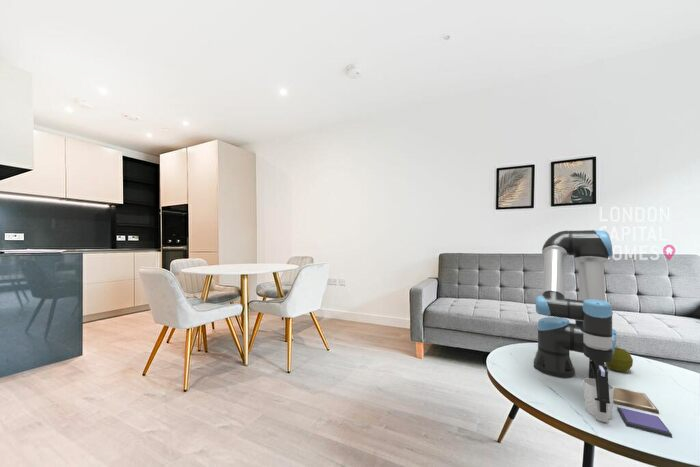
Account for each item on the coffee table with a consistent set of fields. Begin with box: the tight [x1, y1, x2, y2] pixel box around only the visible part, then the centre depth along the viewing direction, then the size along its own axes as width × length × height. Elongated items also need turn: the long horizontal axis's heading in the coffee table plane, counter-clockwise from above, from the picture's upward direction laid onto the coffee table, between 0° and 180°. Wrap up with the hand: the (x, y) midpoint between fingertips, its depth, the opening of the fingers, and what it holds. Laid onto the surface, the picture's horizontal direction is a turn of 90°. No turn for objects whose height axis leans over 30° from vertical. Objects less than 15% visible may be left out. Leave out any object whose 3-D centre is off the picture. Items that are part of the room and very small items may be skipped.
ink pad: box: [616, 406, 673, 438], centre depth 91 cm, size 10×10×1 cm
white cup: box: [582, 377, 615, 420], centre depth 96 cm, size 8×8×10 cm
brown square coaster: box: [613, 386, 660, 415], centre depth 104 cm, size 13×13×1 cm
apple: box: [604, 346, 634, 373], centre depth 128 cm, size 10×10×11 cm
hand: (598, 412), depth 96 cm, fingers open, 9 cm apart
